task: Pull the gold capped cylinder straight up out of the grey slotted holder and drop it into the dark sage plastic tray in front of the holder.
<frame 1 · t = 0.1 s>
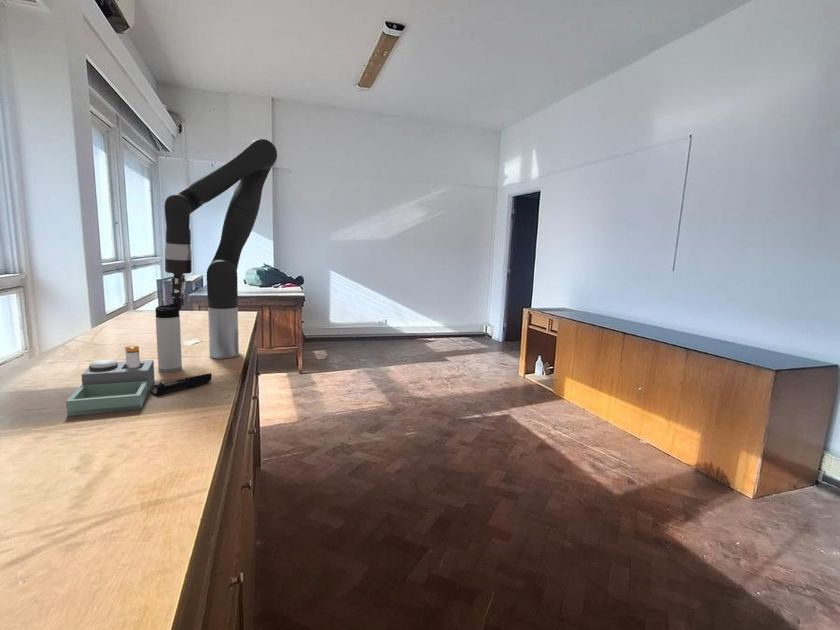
hand: (178, 307, 141), 17 cm above the worktop, tool pointing down, fingers open, 8 cm apart
pin tray: (110, 403, 104), on the worktop
electric trimmer: (182, 389, 117), on the worktop
gold capped cylinder: (134, 387, 116), resting in grey slotted holder
travel mug: (170, 370, 132), on the worktop
grey slotted holder: (121, 388, 115), on the worktop
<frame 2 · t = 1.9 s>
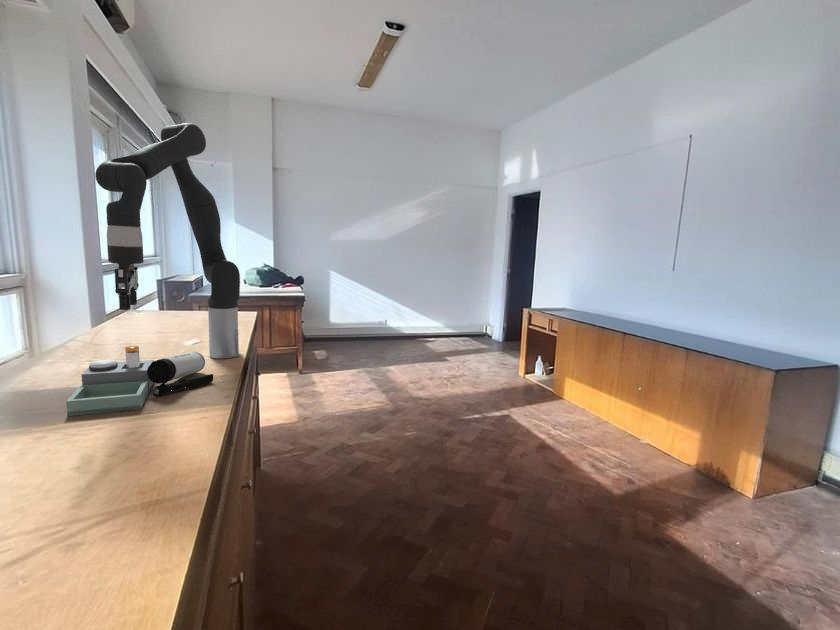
hand: (128, 307, 112), 22 cm above the worktop, tool pointing down, fingers open, 8 cm apart
travel mug: (195, 362, 131), point 3 cm above the worktop
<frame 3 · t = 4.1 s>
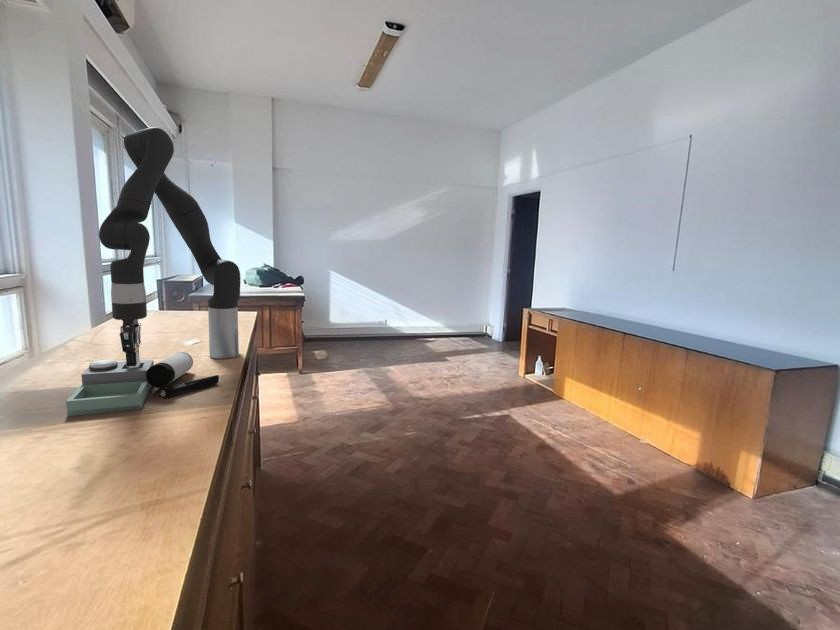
hand: (133, 363, 115), 7 cm above the worktop, tool pointing down, fingers closed on gold capped cylinder, 3 cm apart
electric trimmer: (189, 392, 116), on the worktop
gold capped cylinder: (134, 387, 116), resting in grey slotted holder, touching gripper
travel mug: (182, 361, 130), point 3 cm above the worktop
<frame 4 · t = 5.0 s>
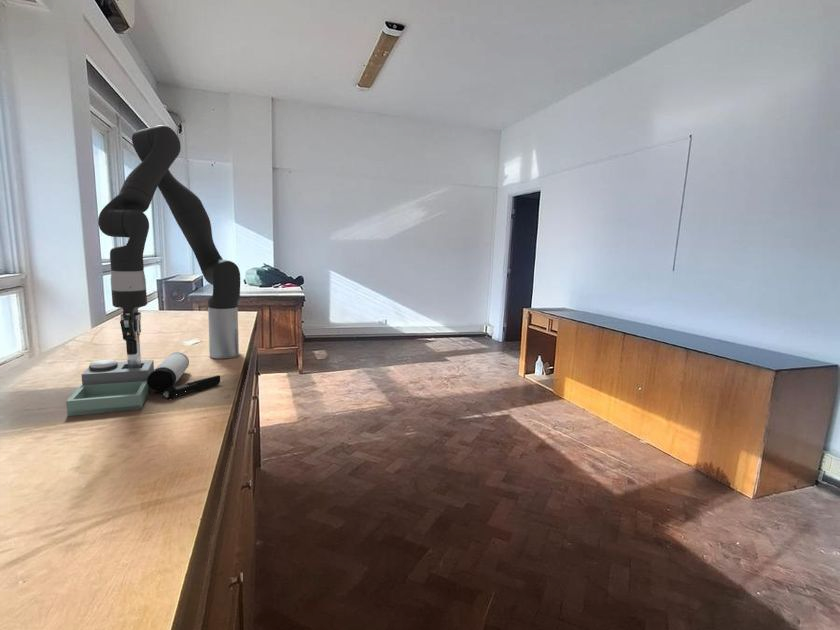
hand: (133, 352, 114), 10 cm above the worktop, tool pointing down, fingers closed on gold capped cylinder, 3 cm apart
electric trimmer: (192, 392, 116), on the worktop, touching travel mug
gold capped cylinder: (135, 376, 115), point 3 cm above the worktop, touching gripper
travel mug: (178, 361, 130), point 3 cm above the worktop, touching electric trimmer, pin tray
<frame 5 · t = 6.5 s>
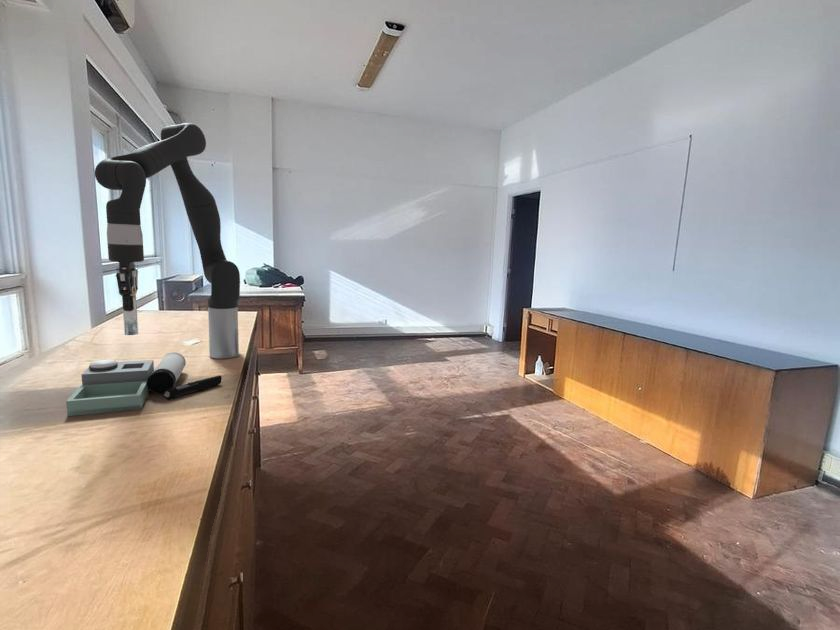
hand: (130, 309, 112), 21 cm above the worktop, tool pointing down, fingers closed on gold capped cylinder, 3 cm apart
electric trimmer: (193, 392, 116), on the worktop
gold capped cylinder: (131, 333, 113), point 15 cm above the worktop, touching gripper
travel mug: (174, 361, 129), point 3 cm above the worktop, touching pin tray
when the fingers open (9 cm above the worktop, at t = 10.4 s): gold capped cylinder drops 1 cm, resting on pin tray.
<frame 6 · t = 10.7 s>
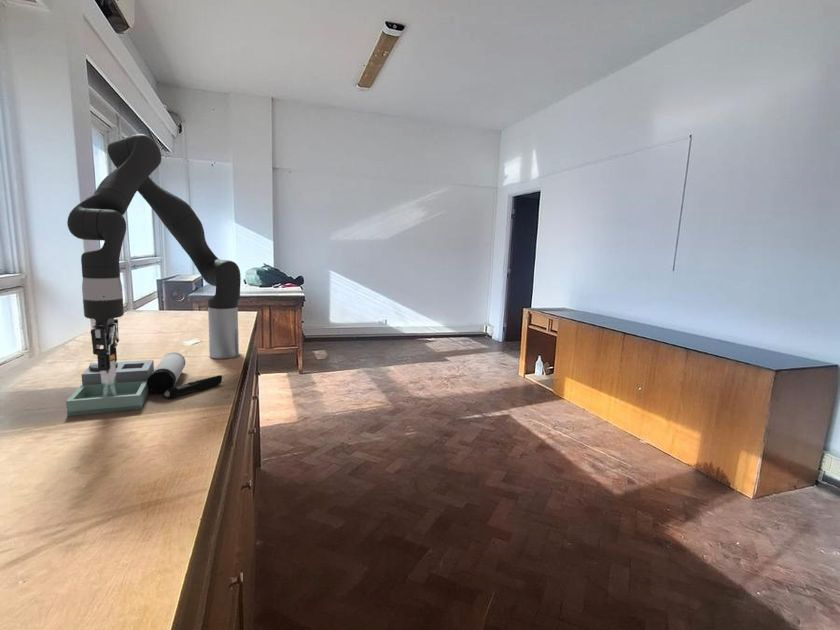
hand: (108, 365, 103), 10 cm above the worktop, tool pointing down, fingers open, 6 cm apart
gold capped cylinder: (110, 399, 104), point 1 cm above the worktop, touching pin tray
travel mug: (174, 361, 129), point 3 cm above the worktop
everything else where it was.
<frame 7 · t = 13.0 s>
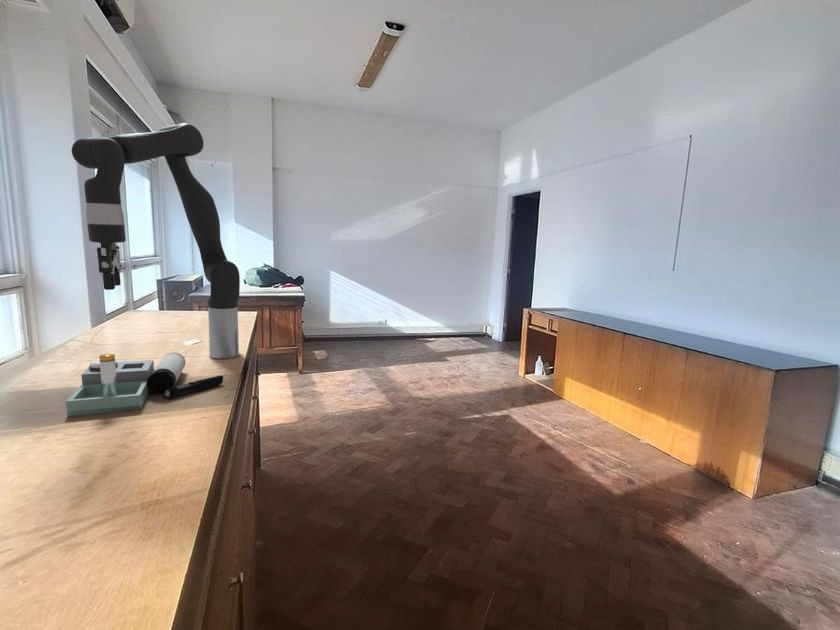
hand: (112, 287, 110), 27 cm above the worktop, tool pointing down, fingers open, 8 cm apart
nothing on the worktop moved.
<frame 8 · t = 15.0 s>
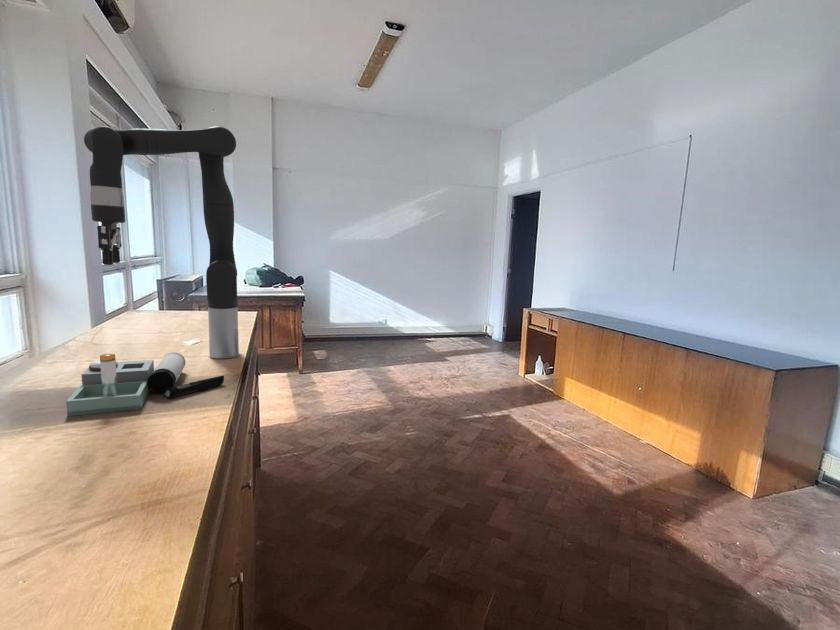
hand: (111, 263, 120), 32 cm above the worktop, tool pointing down, fingers open, 8 cm apart
nothing on the worktop moved.
at the end: gold capped cylinder inside the target area on the pin tray (0.0 cm from its centre), point 1.0 cm above the pin tray's base; the gripper is holding nothing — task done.
